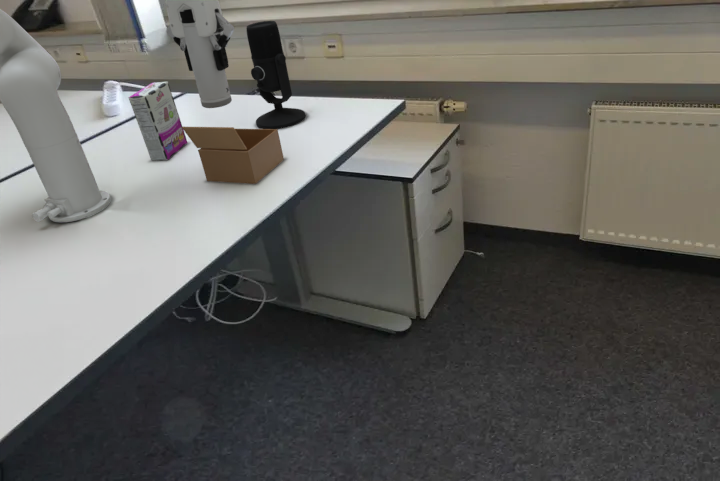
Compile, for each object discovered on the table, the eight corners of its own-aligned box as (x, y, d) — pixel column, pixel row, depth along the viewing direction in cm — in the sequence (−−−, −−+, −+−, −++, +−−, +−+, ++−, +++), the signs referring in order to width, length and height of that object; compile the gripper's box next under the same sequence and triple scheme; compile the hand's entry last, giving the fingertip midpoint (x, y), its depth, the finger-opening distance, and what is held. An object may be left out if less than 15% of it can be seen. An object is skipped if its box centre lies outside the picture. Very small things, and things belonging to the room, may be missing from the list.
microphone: (246, 125, 154) (223, 29, 142) (282, 109, 163) (263, 17, 150) (279, 132, 146) (257, 31, 133) (316, 115, 154) (299, 18, 142)
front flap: (247, 148, 116) (246, 149, 116) (197, 147, 121) (196, 148, 121) (233, 127, 111) (233, 128, 111) (182, 126, 116) (181, 127, 116)
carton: (255, 184, 120) (247, 151, 116) (207, 181, 125) (197, 150, 121) (284, 159, 130) (277, 129, 126) (237, 157, 135) (230, 128, 131)
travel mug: (239, 100, 120) (216, -2, 109) (212, 110, 116) (186, 5, 106) (222, 97, 124) (199, -2, 113) (196, 106, 120) (169, 4, 110)
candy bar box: (171, 144, 150) (151, 82, 141) (188, 143, 148) (169, 80, 140) (149, 161, 140) (127, 96, 132) (167, 160, 139) (146, 95, 131)
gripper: (136, -22, 107) (163, 74, 116) (212, -28, 101) (234, 74, 110) (162, -27, 113) (186, 64, 122) (235, -34, 107) (254, 63, 116)
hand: (208, 68), depth 116 cm, fingers closed on travel mug, 6 cm apart
